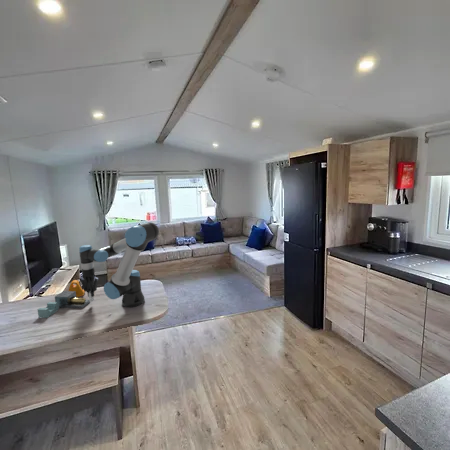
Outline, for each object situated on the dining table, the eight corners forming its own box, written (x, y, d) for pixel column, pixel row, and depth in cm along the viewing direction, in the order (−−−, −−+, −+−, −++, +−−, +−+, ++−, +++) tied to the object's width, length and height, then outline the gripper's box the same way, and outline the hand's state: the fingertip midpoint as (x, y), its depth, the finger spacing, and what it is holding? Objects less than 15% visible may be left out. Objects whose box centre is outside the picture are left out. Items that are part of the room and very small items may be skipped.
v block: (58, 309, 181) (57, 302, 180) (47, 317, 171) (46, 309, 170) (50, 309, 181) (49, 302, 180) (38, 317, 171) (37, 309, 170)
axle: (85, 301, 188) (85, 297, 187) (83, 303, 185) (82, 299, 184) (61, 300, 189) (61, 296, 189) (58, 302, 186) (58, 298, 186)
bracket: (85, 292, 207) (83, 277, 205) (83, 296, 201) (81, 281, 198) (69, 294, 204) (67, 279, 202) (67, 298, 197) (65, 283, 195)
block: (90, 302, 191) (88, 291, 189) (82, 308, 182) (80, 297, 181) (65, 301, 193) (63, 291, 191) (56, 307, 184) (54, 296, 182)
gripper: (100, 266, 184) (103, 298, 188) (82, 266, 185) (86, 298, 190) (93, 270, 177) (97, 303, 181) (75, 269, 178) (79, 303, 182)
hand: (91, 300), depth 185 cm, fingers closed
